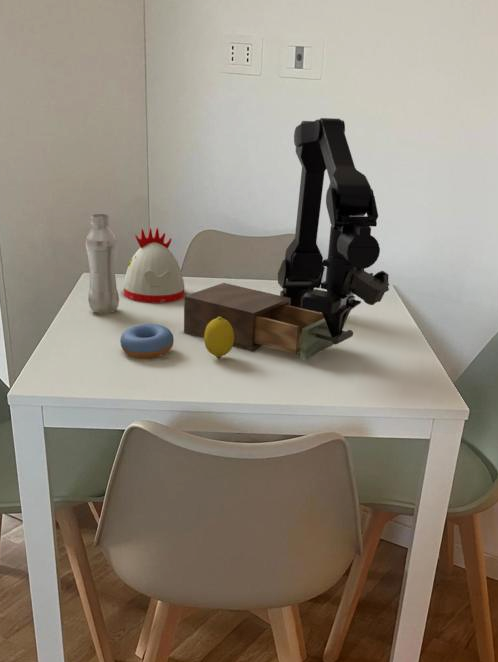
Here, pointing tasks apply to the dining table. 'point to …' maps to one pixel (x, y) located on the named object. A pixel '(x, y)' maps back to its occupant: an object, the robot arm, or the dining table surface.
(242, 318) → the cabinet
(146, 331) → the doughnut
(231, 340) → the lemon
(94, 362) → the dining table surface
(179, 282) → the kitchen timer
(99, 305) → the plastic bottle
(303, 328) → the drawer
